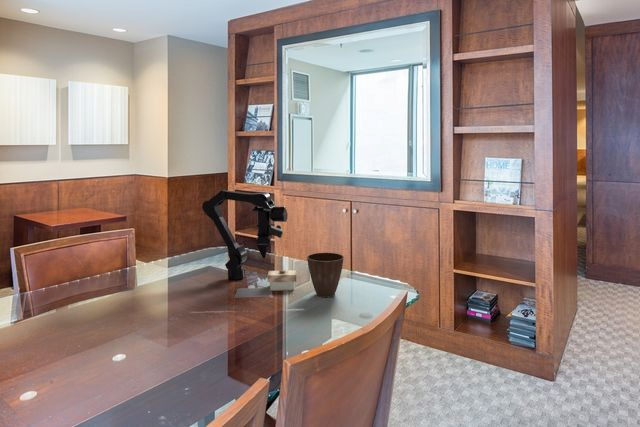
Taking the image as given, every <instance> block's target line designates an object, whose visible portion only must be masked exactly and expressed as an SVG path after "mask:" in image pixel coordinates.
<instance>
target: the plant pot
mask: <svg viewBox="0 0 640 427" xmlns="http://www.w3.org/2000/svg"><path fill="white" fill-rule="evenodd" d="M306 260H307V265H308V271H309V275H310V279H311V284H312V285H313V289H314V292H315V293H316V296H317V297H319V298H331V297H334V296H335V295H336V293H337V292H336V291H337V289H338V286H339V283H340V280H341V279H340V278H341V275H342V272H343V271H342V270H343V264H344V255H342V254H340V253H335V252H317V253H311V254H308V255H307V256H306Z"/></svg>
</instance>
